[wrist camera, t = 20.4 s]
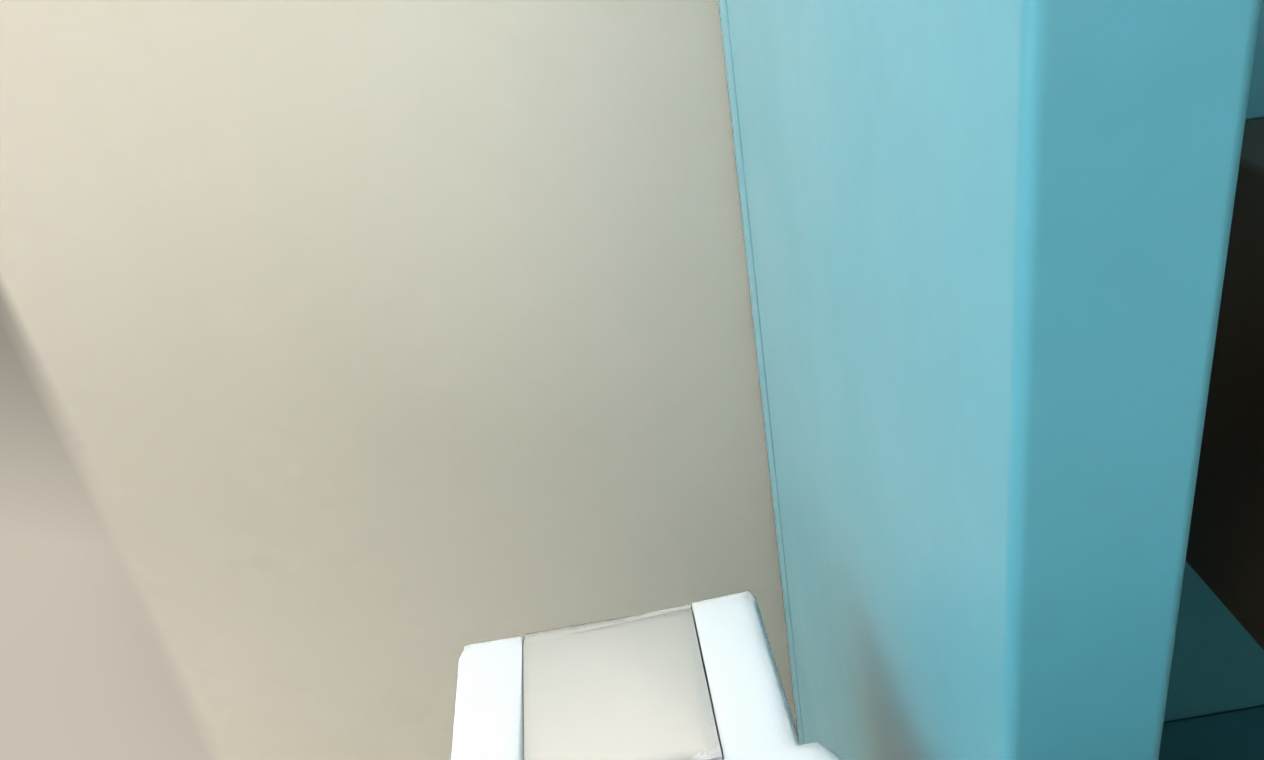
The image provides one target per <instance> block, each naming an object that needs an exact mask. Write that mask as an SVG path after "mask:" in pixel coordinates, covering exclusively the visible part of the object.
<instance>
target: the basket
mask: <svg viewBox="0 0 1264 760" xmlns="http://www.w3.org/2000/svg"><path fill="white" fill-rule="evenodd" d="M718 1H719V10H720V19H721V29H722V38H723V47H724V56H725V66H726V75H727V84H728V93H729V103H730V112H731V121H732V130H733V140H734V149H735V158H736V167H737V176H738V186H739V195H740V204H741V213H742V223H743V232H744V241H745V250H746V260H747V269H748V278H749V287H750V297H751V306H752V315H753V324H754V334H755V343H756V352H757V361H758V370H759V380H760V389H761V398H762V407H763V417H764V426H765V435H766V444H767V454H768V463H769V472H770V481H771V491H772V500H773V509H774V518H775V528H776V537H777V546H778V555H779V565H780V574H781V583H782V592H783V601H784V611H785V620H786V629H787V638H788V648H789V657H790V666H791V675H792V685H793V694H794V703H795V712H796V722H797V731H798V739H799V743H800V745H802V744H808V743H814V742H821V743H822V744H823V745H825V746H826V747H827V748H828V749H830V750H831V751H832V752H834V753H835V754H836V755H838V756H839V757H840V758H842V759H843V760H1264V650H1263V649H1262V648H1261V647H1260V646H1259V645H1258V643H1257V642H1256V641H1255V640H1254V639H1253V638H1252V636H1251V635H1250V634H1249V633H1248V632H1247V631H1246V630H1245V628H1244V627H1243V626H1242V625H1241V624H1240V623H1239V622H1238V620H1237V619H1236V618H1235V617H1234V616H1233V615H1232V614H1231V612H1230V611H1229V610H1228V609H1227V608H1226V607H1225V606H1224V604H1223V603H1222V602H1221V601H1220V600H1219V599H1218V598H1217V596H1216V595H1215V594H1214V593H1213V592H1212V591H1211V589H1210V588H1209V587H1208V586H1207V585H1206V584H1205V583H1204V581H1203V580H1202V579H1201V578H1200V577H1199V576H1198V575H1197V573H1196V572H1195V571H1194V570H1193V569H1192V568H1191V567H1190V565H1189V564H1188V563H1187V562H1186V553H1187V546H1188V539H1189V531H1190V524H1191V517H1192V509H1193V502H1194V495H1195V487H1196V480H1197V473H1198V465H1199V458H1200V451H1201V443H1202V436H1203V428H1204V421H1205V414H1206V406H1207V399H1208V392H1209V384H1210V377H1211V370H1212V362H1213V355H1214V348H1215V340H1216V333H1217V326H1218V318H1219V311H1220V303H1221V296H1222V289H1223V281H1224V274H1225V267H1226V259H1227V252H1228V245H1229V237H1230V230H1231V223H1232V215H1233V208H1234V201H1235V193H1236V186H1237V178H1238V171H1239V164H1240V156H1241V149H1242V142H1243V134H1244V127H1245V121H1249V120H1254V119H1260V118H1264V0H718Z"/></svg>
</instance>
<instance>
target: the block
mask: <svg viewBox="0 0 1264 760" xmlns="http://www.w3.org/2000/svg"><path fill="white" fill-rule="evenodd" d="M1186 562H1187V563H1188V564H1189V565H1190V567H1191V568H1192V569H1193V570H1194V571H1195V572H1196V573H1197V575H1198V576H1199V577H1200V578H1201V579H1202V580H1203V581H1204V583H1205V584H1206V585H1207V586H1208V587H1209V588H1210V589H1211V591H1212V592H1213V593H1214V594H1215V595H1216V596H1217V598H1218V599H1219V600H1220V601H1221V602H1222V603H1223V604H1224V606H1225V607H1226V608H1227V609H1228V610H1229V611H1230V612H1231V614H1232V615H1233V616H1234V617H1235V618H1236V619H1237V620H1238V622H1239V623H1240V624H1241V625H1242V626H1243V627H1244V628H1245V630H1246V631H1247V632H1248V633H1249V634H1250V635H1251V636H1252V638H1253V639H1254V640H1255V641H1256V642H1257V643H1258V645H1259V646H1260V647H1261V648H1262V649H1263V650H1264V118H1260V119H1254V120H1249V121H1245V127H1244V134H1243V142H1242V149H1241V156H1240V164H1239V171H1238V178H1237V186H1236V193H1235V201H1234V208H1233V215H1232V223H1231V230H1230V237H1229V245H1228V252H1227V259H1226V267H1225V274H1224V281H1223V289H1222V296H1221V303H1220V311H1219V318H1218V326H1217V333H1216V340H1215V348H1214V355H1213V362H1212V370H1211V377H1210V384H1209V392H1208V399H1207V406H1206V414H1205V421H1204V428H1203V436H1202V443H1201V451H1200V458H1199V465H1198V473H1197V480H1196V487H1195V495H1194V502H1193V509H1192V517H1191V524H1190V531H1189V539H1188V546H1187V553H1186Z"/></svg>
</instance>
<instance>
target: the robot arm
mask: <svg viewBox="0 0 1264 760" xmlns="http://www.w3.org/2000/svg"><path fill="white" fill-rule="evenodd" d="M451 760H843V759H842V758H840V757H839V756H838V755H836V754H835V753H834V752H832V751H831V750H830V749H828V748H827V747H826V746H825V745H823V744H822V743H821V742H814V743H808V744H802V745H800V743H799V739H798V736H797V733H796V730H795V726H794V723H793V720H792V716H791V713H790V710H789V706H788V703H787V700H786V697H785V693H784V690H783V687H782V683H781V680H780V677H779V674H778V670H777V667H776V664H775V660H774V657H773V654H772V651H771V647H770V644H769V641H768V637H767V634H766V631H765V627H764V624H763V621H762V618H761V614H760V611H759V608H758V604H757V601H756V598H755V597H754V596H753V595H752V594H751V593H750V592H749V591H746V592H741V593H736V594H732V595H727V596H722V597H717V598H713V599H708V600H703V601H698V602H694V603H692V612H691V607H690V605H684V606H679V607H673V608H668V609H663V610H658V611H653V612H648V613H643V614H638V615H633V616H628V617H623V618H618V619H612V620H606V621H600V622H594V623H588V624H582V625H576V626H570V627H564V628H558V629H552V630H546V631H540V632H534V633H528V634H526V636H518V637H512V638H506V639H500V640H494V641H488V642H482V643H476V644H470V645H465V647H464V649H463V652H462V654H461V656H460V659H459V665H458V677H457V690H456V703H455V716H454V729H453V742H452V755H451Z"/></svg>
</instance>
